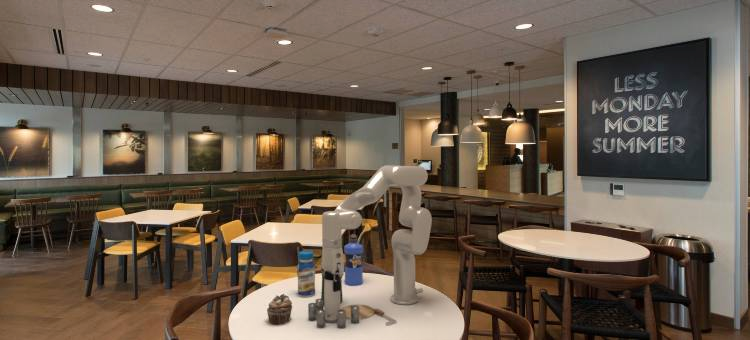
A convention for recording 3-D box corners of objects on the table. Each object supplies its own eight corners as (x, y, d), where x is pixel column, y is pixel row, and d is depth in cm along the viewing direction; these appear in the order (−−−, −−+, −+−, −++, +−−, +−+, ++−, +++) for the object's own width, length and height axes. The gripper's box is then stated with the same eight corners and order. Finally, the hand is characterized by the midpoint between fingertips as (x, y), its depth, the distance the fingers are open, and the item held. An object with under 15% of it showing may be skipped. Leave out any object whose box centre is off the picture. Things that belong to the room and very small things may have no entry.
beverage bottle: (317, 291, 190) (317, 250, 190) (313, 297, 182) (312, 254, 181) (300, 291, 191) (299, 249, 190) (295, 297, 183) (294, 254, 182)
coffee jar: (333, 308, 169) (333, 265, 168) (318, 305, 173) (317, 262, 172) (345, 301, 177) (345, 259, 177) (330, 298, 181) (330, 257, 181)
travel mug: (329, 324, 152) (329, 273, 151) (321, 319, 158) (321, 269, 157) (343, 320, 156) (343, 270, 155) (335, 315, 161) (335, 266, 160)
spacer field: (336, 308, 169) (336, 294, 169) (361, 322, 154) (361, 307, 154) (303, 317, 160) (302, 302, 160) (325, 333, 145) (325, 317, 144)
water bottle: (342, 281, 205) (341, 233, 205) (358, 279, 209) (358, 232, 208) (348, 287, 197) (348, 236, 196) (365, 284, 201) (365, 235, 200)
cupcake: (281, 314, 163) (281, 289, 163) (297, 320, 157) (296, 294, 157) (261, 321, 156) (261, 296, 156) (277, 328, 150) (276, 301, 149)
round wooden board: (361, 302, 175) (361, 302, 175) (382, 313, 163) (382, 312, 163) (331, 310, 166) (331, 309, 166) (351, 322, 154) (351, 321, 154)
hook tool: (367, 314, 162) (367, 311, 162) (377, 312, 165) (377, 308, 165) (387, 325, 151) (387, 321, 151) (397, 322, 154) (397, 318, 154)
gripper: (352, 245, 151) (352, 292, 152) (329, 238, 165) (329, 281, 166) (334, 248, 147) (335, 296, 147) (313, 240, 161) (313, 284, 161)
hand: (332, 288), depth 156 cm, fingers closed on travel mug, 6 cm apart
